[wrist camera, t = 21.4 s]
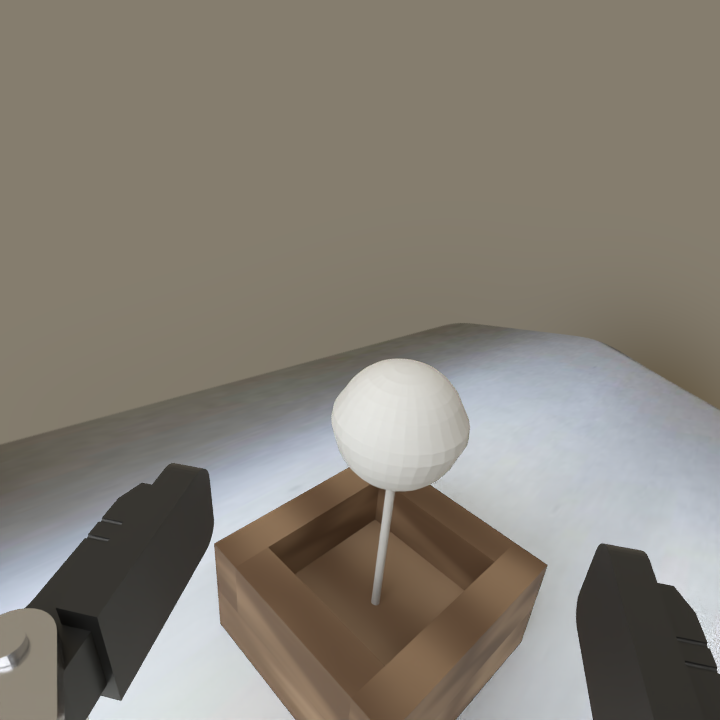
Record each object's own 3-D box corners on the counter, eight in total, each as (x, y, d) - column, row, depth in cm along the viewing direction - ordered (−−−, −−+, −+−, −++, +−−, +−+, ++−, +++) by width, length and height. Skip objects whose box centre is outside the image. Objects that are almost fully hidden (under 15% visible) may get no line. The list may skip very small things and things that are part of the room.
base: (371, 521, 39) (379, 450, 36) (521, 641, 31) (547, 565, 28) (220, 623, 31) (214, 543, 28) (372, 818, 23) (386, 738, 20)
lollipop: (300, 620, 28) (308, 376, 21) (348, 544, 33) (368, 324, 26) (409, 673, 26) (460, 424, 19) (443, 584, 31) (494, 357, 24)
